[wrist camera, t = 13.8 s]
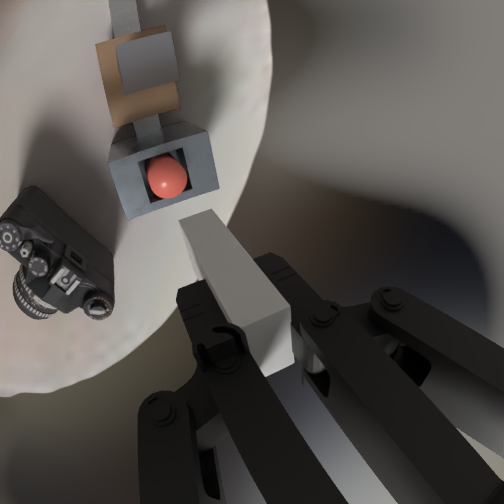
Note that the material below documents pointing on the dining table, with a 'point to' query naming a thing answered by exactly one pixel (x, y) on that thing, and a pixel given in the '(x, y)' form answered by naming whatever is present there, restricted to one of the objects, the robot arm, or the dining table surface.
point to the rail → (156, 145)
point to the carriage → (139, 75)
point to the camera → (55, 260)
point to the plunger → (165, 175)
